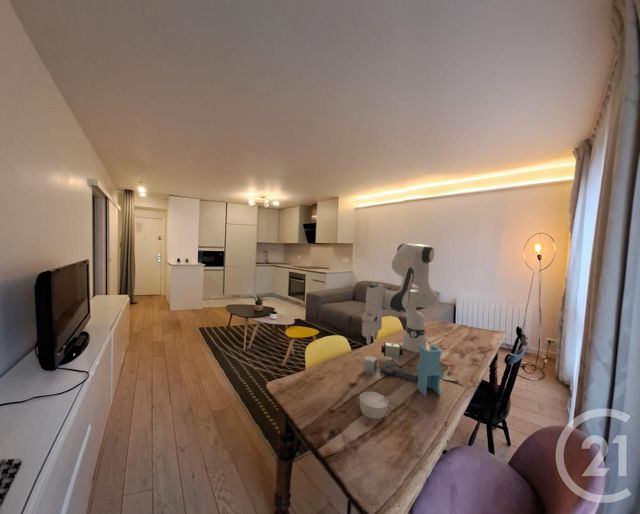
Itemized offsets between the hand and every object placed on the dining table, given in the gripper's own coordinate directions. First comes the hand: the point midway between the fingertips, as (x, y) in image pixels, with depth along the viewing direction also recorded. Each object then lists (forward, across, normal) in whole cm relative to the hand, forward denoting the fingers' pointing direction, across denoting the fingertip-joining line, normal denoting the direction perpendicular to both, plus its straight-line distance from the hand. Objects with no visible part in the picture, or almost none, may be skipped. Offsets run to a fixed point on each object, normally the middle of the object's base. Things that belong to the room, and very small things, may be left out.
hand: (371, 341), depth 138 cm
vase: (+17, +1, +28) cm, 33 cm away
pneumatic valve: (+16, -18, +6) cm, 25 cm away
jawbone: (+17, -24, +38) cm, 48 cm away
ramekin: (+17, +32, +13) cm, 38 cm away
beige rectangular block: (+16, 0, 0) cm, 16 cm away
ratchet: (+16, -6, +16) cm, 24 cm away
